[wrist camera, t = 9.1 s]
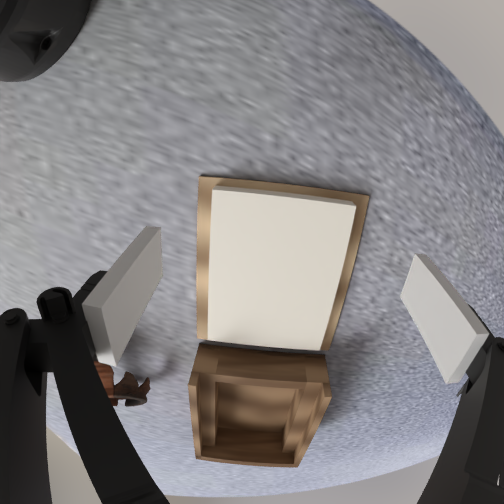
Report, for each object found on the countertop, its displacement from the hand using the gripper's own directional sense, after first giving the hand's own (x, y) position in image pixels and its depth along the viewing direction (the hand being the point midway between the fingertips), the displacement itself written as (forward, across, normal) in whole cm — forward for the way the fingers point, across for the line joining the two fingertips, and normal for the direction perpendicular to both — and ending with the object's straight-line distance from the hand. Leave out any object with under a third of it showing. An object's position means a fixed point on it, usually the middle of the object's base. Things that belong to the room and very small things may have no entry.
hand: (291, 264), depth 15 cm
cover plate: (+12, 0, -8) cm, 15 cm away
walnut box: (+12, 0, -27) cm, 30 cm away
